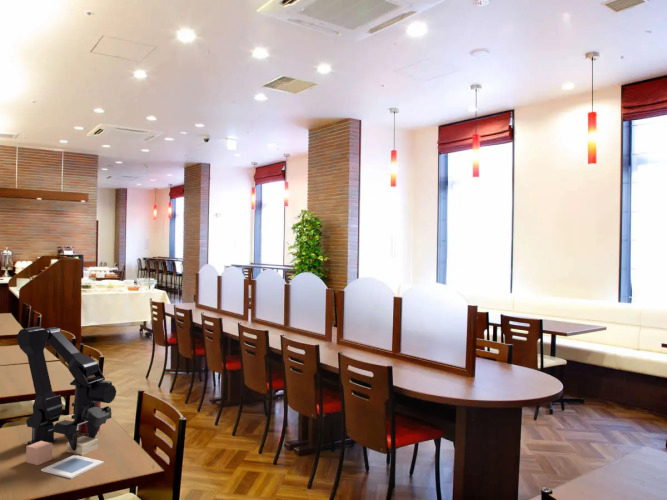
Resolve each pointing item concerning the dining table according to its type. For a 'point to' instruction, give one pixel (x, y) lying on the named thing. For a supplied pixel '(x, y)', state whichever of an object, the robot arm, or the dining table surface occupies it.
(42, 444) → the terracotta cube
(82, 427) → the soda can
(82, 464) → the board
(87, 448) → the maple block
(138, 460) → the dining table surface
